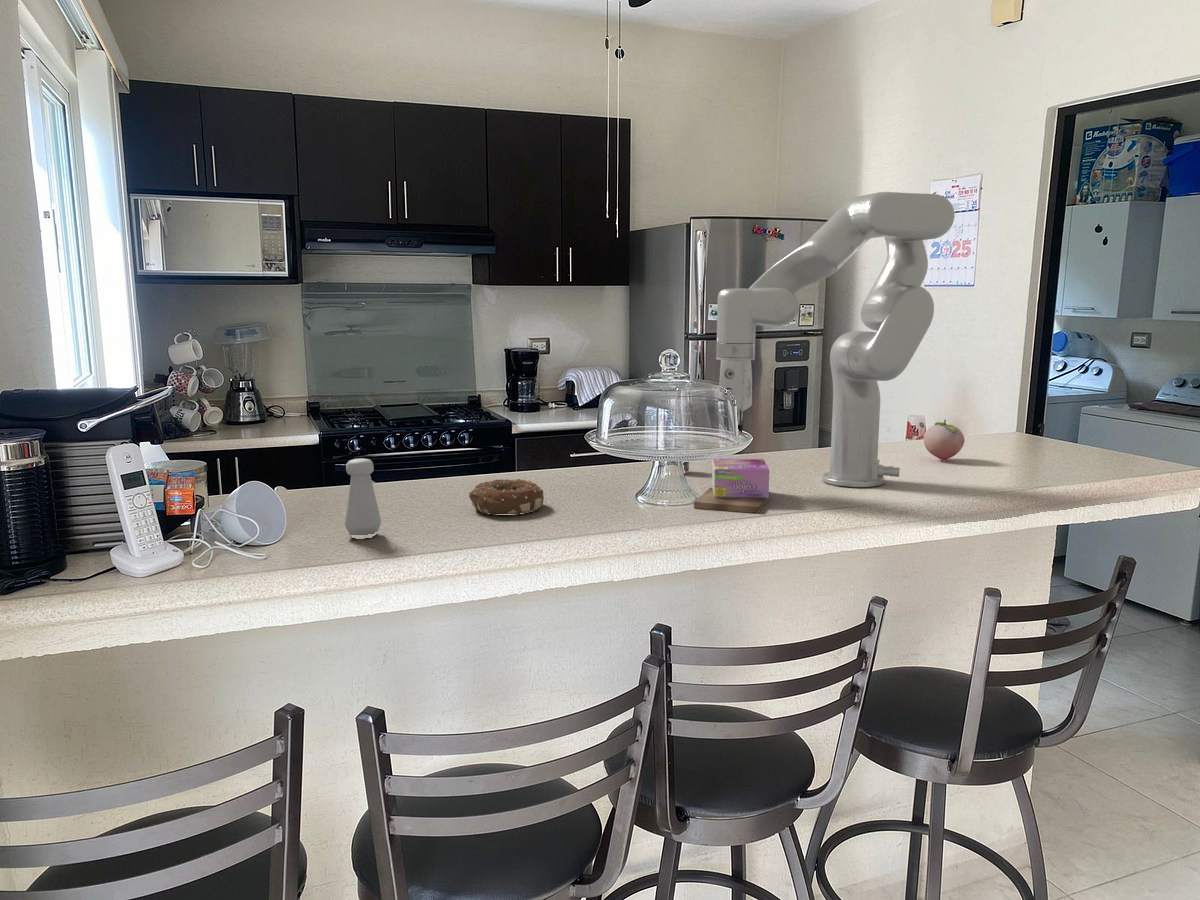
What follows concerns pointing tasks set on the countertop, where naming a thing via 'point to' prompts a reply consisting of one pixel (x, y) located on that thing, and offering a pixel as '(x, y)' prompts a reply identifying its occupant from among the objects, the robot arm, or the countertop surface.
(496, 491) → the donut
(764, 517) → the countertop surface
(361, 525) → the salt shaker
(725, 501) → the board
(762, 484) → the box
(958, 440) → the decorative fruit
